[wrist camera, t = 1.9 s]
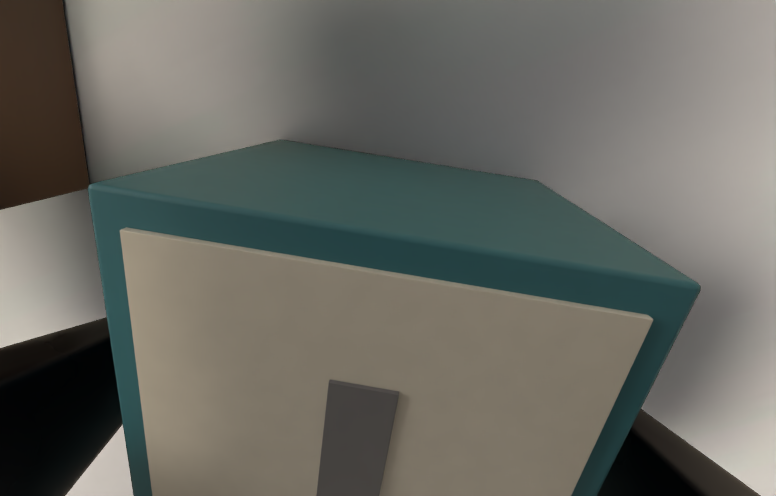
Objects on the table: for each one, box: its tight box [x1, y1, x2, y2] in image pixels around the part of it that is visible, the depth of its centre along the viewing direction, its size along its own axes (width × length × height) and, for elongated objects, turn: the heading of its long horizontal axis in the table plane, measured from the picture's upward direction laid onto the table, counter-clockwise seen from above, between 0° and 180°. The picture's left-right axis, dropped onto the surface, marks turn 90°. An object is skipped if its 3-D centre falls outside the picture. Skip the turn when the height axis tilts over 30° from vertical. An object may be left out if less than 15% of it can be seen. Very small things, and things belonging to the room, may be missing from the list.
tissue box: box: [88, 140, 701, 496], centre depth 8 cm, size 8×6×6 cm
